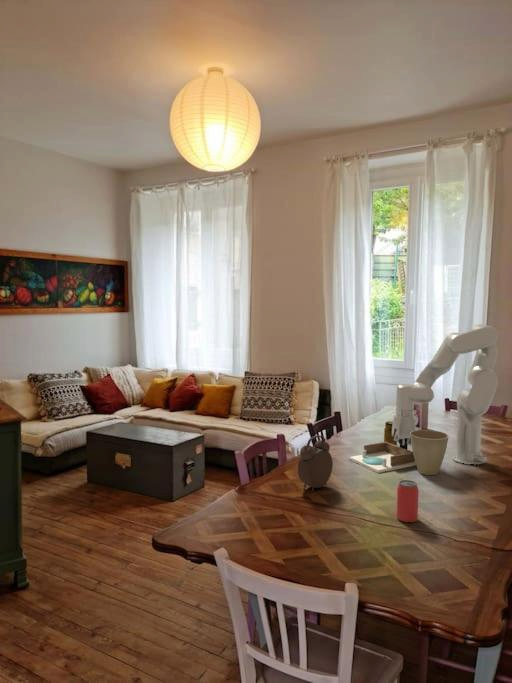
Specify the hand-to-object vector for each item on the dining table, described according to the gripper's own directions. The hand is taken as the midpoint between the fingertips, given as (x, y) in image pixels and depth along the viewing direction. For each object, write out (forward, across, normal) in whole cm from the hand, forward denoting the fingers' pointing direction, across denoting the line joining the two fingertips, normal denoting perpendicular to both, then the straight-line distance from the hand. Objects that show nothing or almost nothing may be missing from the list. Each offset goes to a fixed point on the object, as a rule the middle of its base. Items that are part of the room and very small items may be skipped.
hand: (403, 452), depth 225 cm
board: (+3, +10, 0) cm, 10 cm away
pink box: (+3, -44, -36) cm, 57 cm away
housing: (+1, +8, 0) cm, 9 cm away
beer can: (+3, +42, +48) cm, 64 cm away
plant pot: (+3, +4, +18) cm, 19 cm away
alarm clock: (+3, +55, +12) cm, 56 cm away
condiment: (+3, -6, -15) cm, 16 cm away
